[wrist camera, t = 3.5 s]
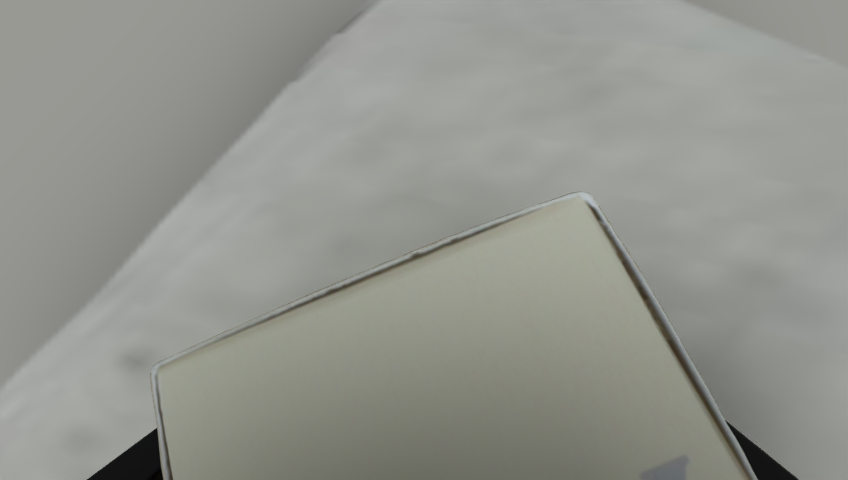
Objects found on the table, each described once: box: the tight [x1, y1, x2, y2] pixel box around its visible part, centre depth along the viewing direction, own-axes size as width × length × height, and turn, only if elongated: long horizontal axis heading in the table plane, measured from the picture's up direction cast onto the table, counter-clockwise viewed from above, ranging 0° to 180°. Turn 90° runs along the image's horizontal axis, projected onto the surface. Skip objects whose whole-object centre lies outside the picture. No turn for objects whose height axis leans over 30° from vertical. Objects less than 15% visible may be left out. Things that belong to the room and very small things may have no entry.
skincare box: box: [150, 192, 758, 480], centre depth 10 cm, size 6×4×12 cm
